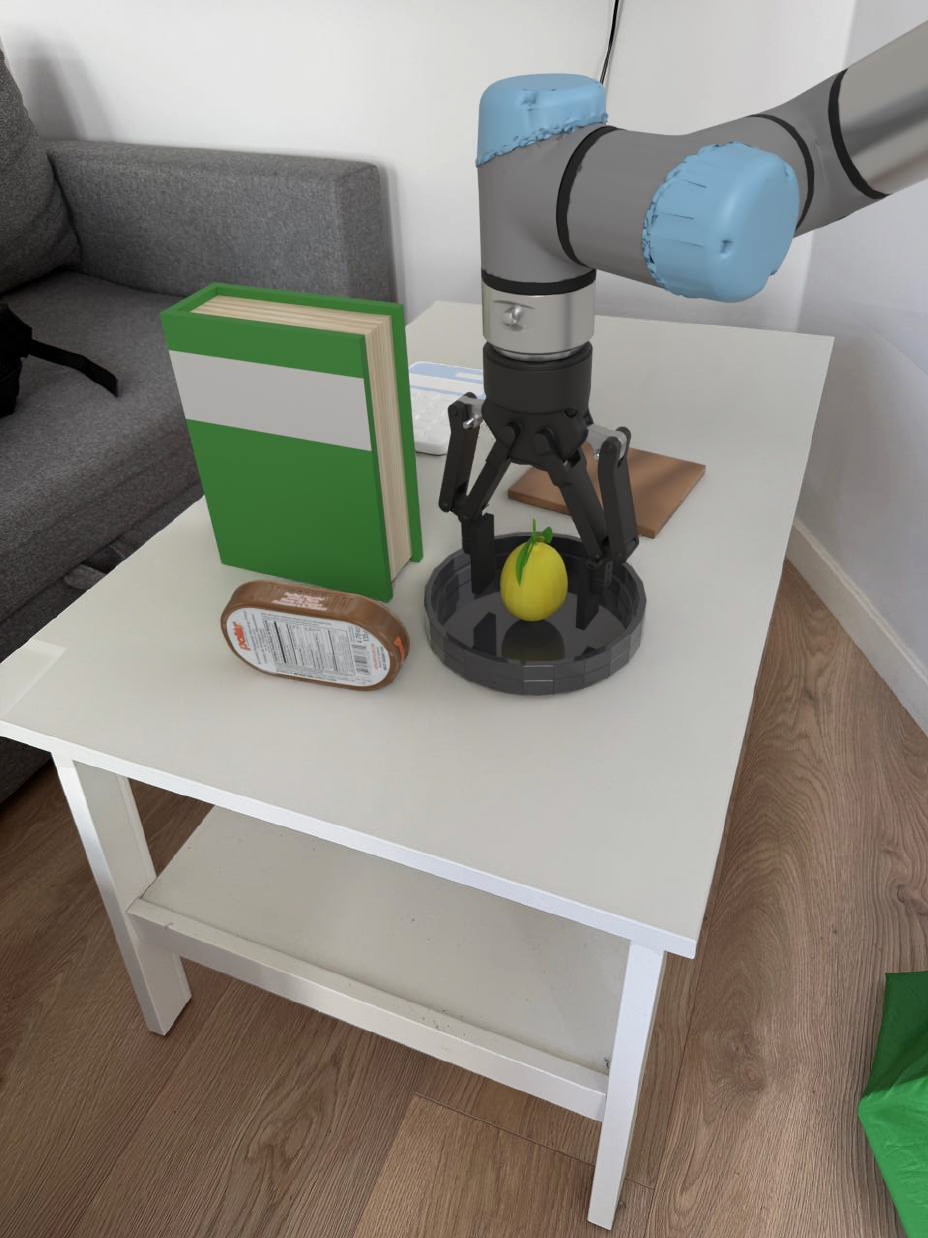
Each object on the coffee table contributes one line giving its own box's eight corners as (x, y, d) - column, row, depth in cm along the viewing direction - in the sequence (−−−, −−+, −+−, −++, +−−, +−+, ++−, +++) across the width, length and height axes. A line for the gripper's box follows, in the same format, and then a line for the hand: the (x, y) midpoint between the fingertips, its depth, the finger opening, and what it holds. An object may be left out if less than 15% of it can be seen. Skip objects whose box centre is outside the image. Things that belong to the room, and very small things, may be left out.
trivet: (705, 473, 96) (706, 465, 96) (654, 539, 87) (655, 530, 86) (568, 440, 103) (568, 432, 102) (507, 497, 94) (507, 489, 93)
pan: (674, 599, 80) (679, 566, 78) (584, 730, 68) (587, 696, 66) (493, 543, 87) (493, 512, 85) (384, 652, 76) (380, 619, 73)
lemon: (519, 653, 74) (520, 552, 68) (481, 616, 78) (478, 516, 72) (586, 625, 77) (592, 524, 70) (546, 589, 81) (548, 491, 74)
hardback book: (423, 557, 86) (403, 303, 71) (388, 602, 81) (358, 339, 66) (263, 523, 92) (214, 282, 77) (221, 563, 87) (159, 313, 72)
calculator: (339, 439, 105) (337, 423, 104) (416, 370, 119) (415, 356, 118) (444, 458, 101) (443, 443, 100) (511, 385, 115) (511, 371, 114)
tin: (414, 678, 73) (406, 594, 68) (402, 705, 71) (392, 620, 65) (244, 650, 77) (223, 568, 71) (226, 675, 74) (204, 592, 69)
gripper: (375, 332, 64) (400, 588, 78) (669, 392, 55) (638, 671, 69) (433, 297, 69) (447, 545, 83) (711, 348, 60) (674, 616, 74)
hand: (533, 602), depth 76 cm, fingers open, 9 cm apart
